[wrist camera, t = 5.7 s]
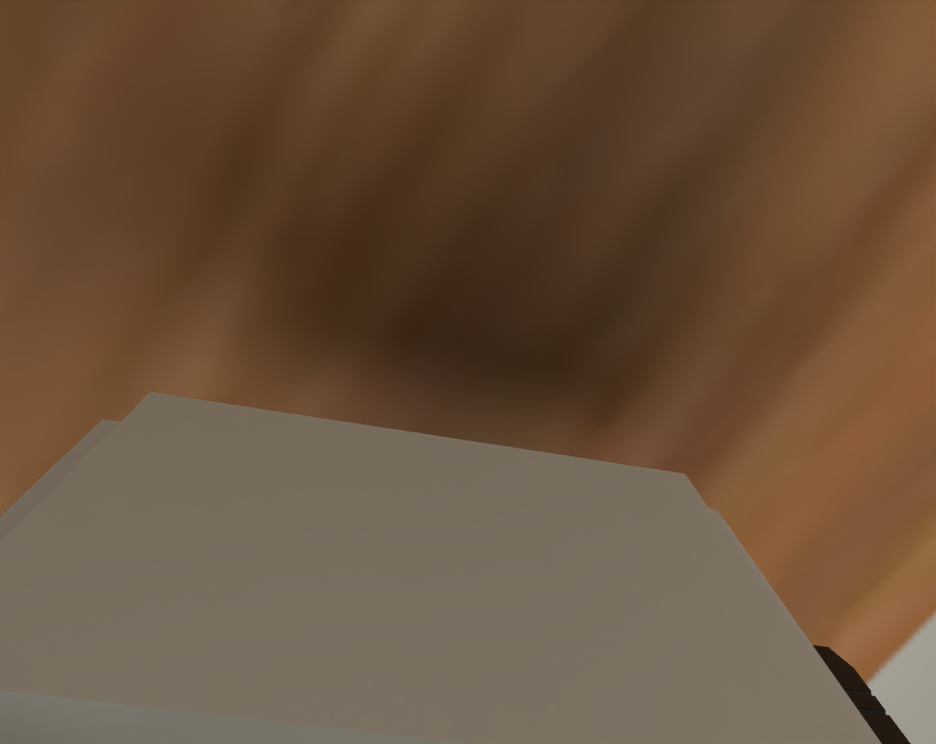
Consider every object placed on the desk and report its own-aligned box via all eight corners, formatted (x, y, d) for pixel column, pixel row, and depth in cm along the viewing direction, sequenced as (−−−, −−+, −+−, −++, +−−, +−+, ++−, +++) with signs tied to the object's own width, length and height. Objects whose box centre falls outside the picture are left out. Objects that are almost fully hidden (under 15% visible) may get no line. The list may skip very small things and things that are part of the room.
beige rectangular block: (140, 558, 16) (-110, 945, 9) (150, 391, 15) (-130, 676, 8) (639, 624, 17) (796, 1019, 10) (685, 474, 16) (903, 793, 9)
